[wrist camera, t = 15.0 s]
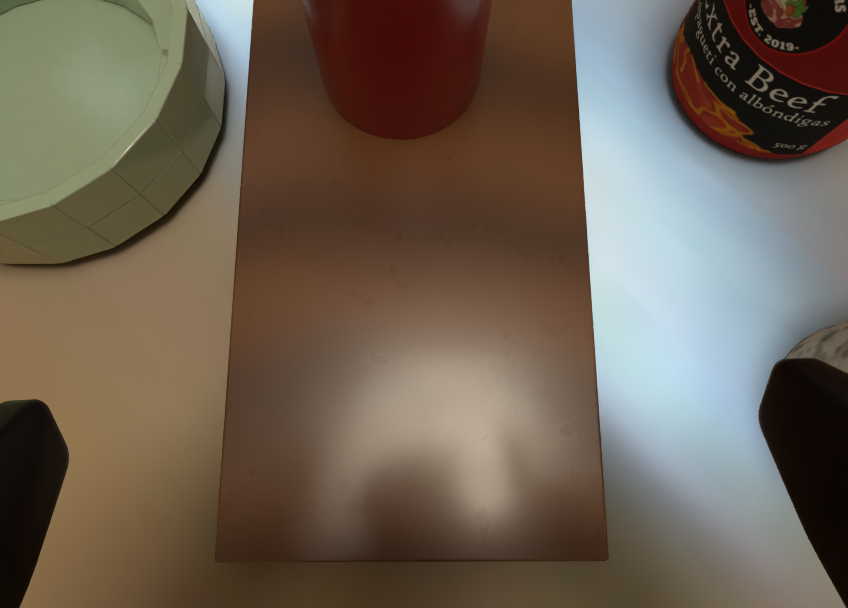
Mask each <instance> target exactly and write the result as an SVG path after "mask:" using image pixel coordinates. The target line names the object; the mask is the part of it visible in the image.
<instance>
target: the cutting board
mask: <svg viewBox="0 0 848 608" xmlns="http://www.w3.org/2000/svg"><path fill="white" fill-rule="evenodd" d="M608 559H609V556H608V541H607V525H606V510H605V495H604V480H603V465H602V450H601V435H600V420H599V405H598V390H597V375H596V360H595V345H594V330H593V315H592V300H591V285H590V270H589V255H588V240H587V225H586V210H585V195H584V180H583V165H582V150H581V135H580V120H579V105H578V90H577V75H576V60H575V45H574V30H573V15H572V0H492V5H491V12H490V18H489V24H488V31H487V37H486V44H485V50H484V56H483V63H482V69H481V75H480V81H479V85H478V88H477V91H476V94H475V96H474V98H473V100H472V102H471V103H470V104H469V106H468V107H467V109H466V110H465V111H464V112H463V113H462V114H461V115H460V116H459V117H458V118H457V119H456V120H455V121H453V122H452V123H451V124H449V125H448V126H446V127H445V128H443V129H441V130H439V131H437V132H435V133H432V134H429V135H426V136H423V137H418V138H413V139H390V138H384V137H379V136H376V135H372V134H370V133H367V132H365V131H363V130H361V129H359V128H357V127H356V126H354V125H352V124H351V123H350V122H349V121H347V120H346V119H345V118H344V117H343V116H342V115H341V114H340V113H339V112H338V111H337V110H336V108H335V107H334V106H333V104H332V103H331V101H330V99H329V97H328V95H327V93H326V90H325V87H324V84H323V80H322V77H321V73H320V69H319V66H318V62H317V58H316V55H315V51H314V48H313V44H312V40H311V37H310V33H309V29H308V26H307V22H306V18H305V15H304V11H303V7H302V4H301V0H254V2H253V16H252V30H251V45H250V59H249V74H248V88H247V102H246V117H245V131H244V146H243V160H242V174H241V189H240V203H239V218H238V232H237V247H236V261H235V275H234V290H233V304H232V319H231V333H230V347H229V362H228V376H227V391H226V405H225V419H224V434H223V448H222V463H221V477H220V492H219V506H218V520H217V535H216V549H215V562H469V561H607V560H608Z"/></svg>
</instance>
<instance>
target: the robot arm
mask: <svg viewBox="0 0 848 608" xmlns="http://www.w3.org/2000/svg"><path fill="white" fill-rule="evenodd" d="M759 424H760V427H761V430H762V433H763V435H764V437H765V440H766V442H767V444H768V447H769V449H770V451H771V454H772V456H773V458H774V461H775V463H776V465H777V468H778V470H779V472H780V475H781V477H782V480H783V482H784V484H785V487H786V489H787V491H788V494H789V496H790V498H791V501H792V503H793V505H794V508H795V510H796V512H797V515H798V517H799V519H800V521H801V524H802V526H803V528H804V530H805V532H806V534H807V536H808V539H809V541H810V542H811V544H812V546H813V548H814V550H815V552H816V554H817V556H818V558H819V560H820V561H821V563H822V565H823V567H824V569H825V570H826V572H827V574H828V576H829V578H830V579H831V581H832V583H833V585H834V586H835V588H836V590H837V592H838V594H839V595H840V597H841V599H842V601H843V603H844V604H845V606H846V608H848V373H846V372H844V371H842V370H840V369H838V368H836V367H834V366H832V365H829V364H827V363H825V362H823V361H821V360H819V359H816V358H789V359H782V360H780V361H778V362H777V363H776V364H775V365H774V367H773V369H772V371H771V374H770V377H769V380H768V383H767V386H766V389H765V392H764V395H763V398H762V401H761V404H760V407H759ZM68 463H69V452H68V448H67V445H66V443H65V441H64V439H63V436H62V434H61V432H60V430H59V428H58V426H57V424H56V422H55V420H54V418H53V415H52V413H51V411H50V409H49V408H48V406H47V405H46V404H45V403H44V402H42V401H40V400H36V399H32V400H14V401H6V402H3V403H1V404H0V608H19V607H20V605H21V603H22V600H23V598H24V595H25V593H26V590H27V588H28V586H29V583H30V580H31V578H32V575H33V572H34V569H35V567H36V564H37V561H38V558H39V554H40V551H41V548H42V545H43V542H44V539H45V536H46V533H47V530H48V527H49V524H50V521H51V518H52V514H53V511H54V508H55V505H56V502H57V499H58V496H59V493H60V490H61V487H62V484H63V481H64V478H65V474H66V471H67V468H68Z"/></svg>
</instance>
